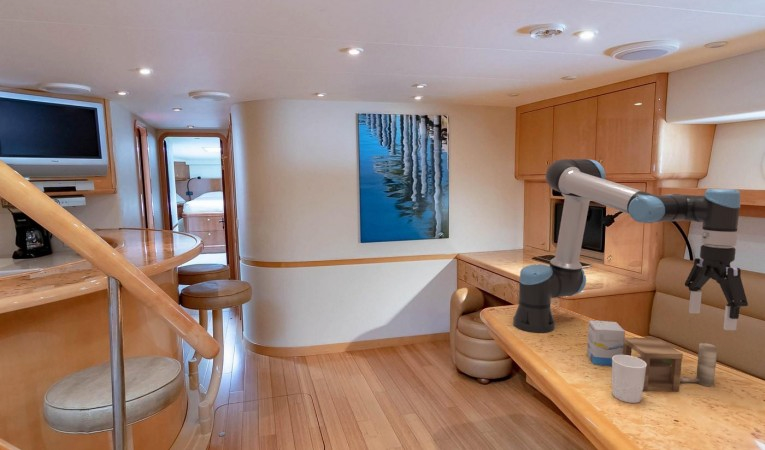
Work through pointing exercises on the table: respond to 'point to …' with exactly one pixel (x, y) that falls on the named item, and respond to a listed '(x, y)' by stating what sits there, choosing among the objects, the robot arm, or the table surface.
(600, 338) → the ink box
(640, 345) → the wooden open stand
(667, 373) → the block
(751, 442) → the table surface
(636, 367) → the white cup
